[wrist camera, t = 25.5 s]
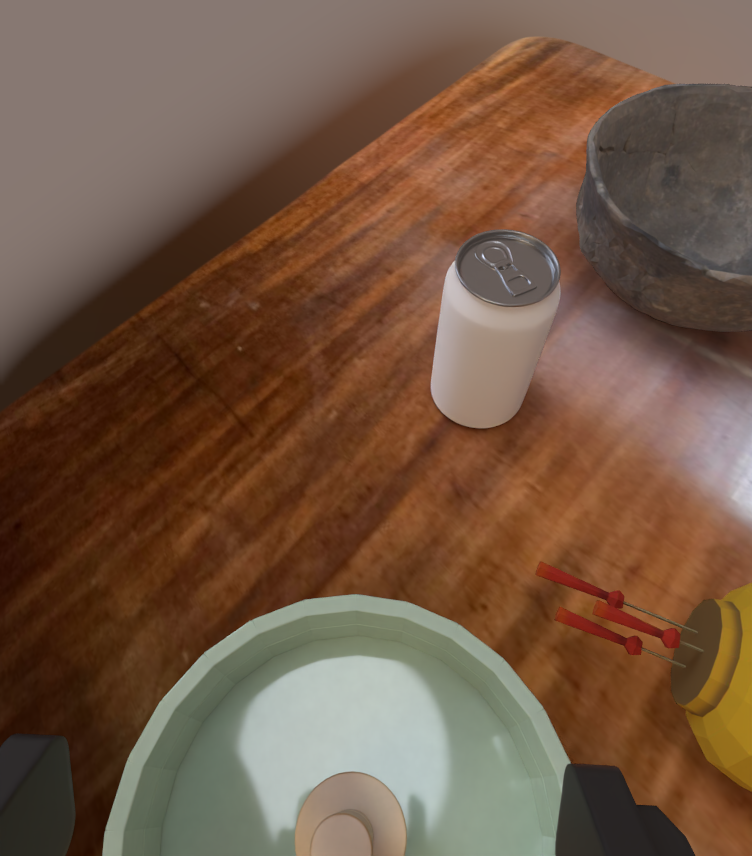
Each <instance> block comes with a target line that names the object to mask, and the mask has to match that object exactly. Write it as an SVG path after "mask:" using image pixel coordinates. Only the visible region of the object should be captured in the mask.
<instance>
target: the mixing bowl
mask: <svg viewBox="0 0 752 856" xmlns="http://www.w3.org/2000/svg"><path fill="white" fill-rule="evenodd" d="M127 760H128V761H127V762H126V765H125V769H124V772H123V775H122V778H121V781H120V784H119V788H118V791H117V794H116V797H115V800H114V804H113V807H112V810H111V813H110V816H109V820H108V823H107V826H106V831H105V833H104V844H103V855H102V856H296V852H295V828H296V823H297V819H298V815H299V813H300V810H301V808H302V806H303V804H304V802H305V800H306V798H307V797H308V795H309V794H310V793H311V792H312V790H313V789H314V788H315V787H316V786H317V785H318V784H320V783H321V782H322V781H324V780H325V779H327V778H329V777H331V776H333V775H335V774H338V773H343V772H352V771H353V772H361V773H365V774H368V775H371V776H373V777H375V778H377V779H378V780H380V781H381V782H382V783H384V784H385V785H386V786H387V787H388V788H389V789H390V790H391V791H392V793H393V794H394V795H395V797H396V799H397V800H398V802H399V804H400V806H401V809H402V811H403V814H404V818H405V822H406V829H407V846H406V852H405V856H555V841H556V832H557V825H558V817H559V809H560V801H561V794H562V786H563V778H564V772H565V768H566V766H567V764H571V762H570V760H569V758H568V756H567V754H566V752H565V750H564V748H563V746H562V744H561V742H560V740H559V738H558V735H557V733H556V731H555V729H554V727H553V725H552V723H551V721H550V719H549V717H548V715H547V713H546V711H545V710H544V708H543V706H542V705H541V704H540V702H539V701H538V700H537V699H536V697H535V696H534V695H533V694H532V692H531V691H530V690H529V689H528V687H527V686H526V685H525V684H524V682H523V681H522V680H521V679H520V677H519V676H518V675H517V674H516V673H515V671H514V670H513V669H512V668H511V666H510V665H509V664H508V663H507V661H504V658H502V657H501V656H500V655H499V654H497V653H496V652H495V651H493V650H492V649H491V648H490V647H488V646H487V645H486V644H484V643H483V642H482V641H480V640H479V639H478V638H477V637H475V636H474V635H473V634H471V633H470V632H469V631H468V630H466V629H465V628H464V627H462V626H461V625H459V624H458V623H456V622H453V621H451V620H449V619H446V618H444V617H442V616H440V615H437V614H435V613H433V612H430V611H428V610H426V609H423V608H421V607H419V606H416V605H414V604H412V603H408V602H405V601H398V600H392V599H385V598H379V597H372V596H365V595H359V594H357V595H356V594H352V595H343V596H334V597H325V598H316V599H307V600H303V601H300V602H297V603H294V604H292V605H289V606H287V607H284V608H281V609H279V610H276V611H274V612H271V613H268V614H266V615H263V616H260V617H258V618H255V619H253V620H252V621H249V622H248V623H246V624H245V625H243V626H242V627H241V628H239V629H238V630H236V631H235V632H233V633H232V634H230V635H229V636H228V637H226V638H225V639H223V640H222V641H220V642H219V643H218V644H216V645H215V646H213V647H212V648H210V649H209V650H207V651H206V652H205V653H204V654H203V655H201V657H200V658H199V659H198V660H197V661H196V662H195V663H194V664H193V665H192V667H191V668H190V669H189V670H188V671H187V672H186V673H185V674H184V675H183V677H182V678H181V679H180V680H179V681H178V682H177V683H176V684H175V685H174V687H173V688H172V689H171V690H170V691H169V692H168V693H167V694H166V695H165V697H164V698H163V699H162V701H160V703H159V704H158V706H157V708H156V710H155V711H154V713H153V715H152V717H151V718H150V720H149V722H148V724H147V725H146V727H145V729H144V731H143V733H142V734H141V736H140V738H139V740H138V741H137V743H136V745H135V747H134V748H133V750H132V752H131V754H130V755H129V757H128V759H127Z"/></svg>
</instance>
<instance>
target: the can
mask: <svg viewBox="0 0 752 856" xmlns="http://www.w3.org/2000/svg"><path fill="white" fill-rule="evenodd" d="M559 279H560V265H559V261H558V259H557V257H556V255H555V254H554V252H553V251H552V250H551V249H550V248H549V247H548V246H547V245H546V244H545V243H543V242H542V241H540V240H539V239H537V238H535V237H533V236H531V235H529V234H526V233H523V232H519V231H514V230H491V231H486V232H483V233H480V234H477V235H475V236H473V237H471V238H470V239H468V240H467V241H466V242H465V243H464V244H463V245H462V246H461V247H460V249H459V251H458V253H457V255H456V259H455V261H454V262H453V263H452V265H451V266H450V268H449V270H448V272H447V275H446V278H445V283H444V289H443V295H442V302H441V309H440V316H439V324H438V331H437V339H436V346H435V354H434V361H433V369H432V378H431V393H432V397H433V400H434V402H435V404H436V405H437V407H438V408H439V410H440V411H441V412H442V413H443V414H444V415H445V416H447V417H448V418H449V419H451V420H452V421H454V422H456V423H458V424H461V425H464V426H467V427H472V428H490V427H495V426H498V425H501V424H503V423H505V422H507V421H508V420H510V419H511V418H512V417H513V416H514V415H515V414H516V413H517V412H518V410H519V409H520V407H521V405H522V402H523V400H524V397H525V395H526V392H527V390H528V387H529V384H530V382H531V379H532V377H533V374H534V371H535V368H536V366H537V363H538V360H539V358H540V355H541V352H542V350H543V347H544V344H545V342H546V339H547V336H548V333H549V331H550V328H551V325H552V322H553V320H554V317H555V314H556V311H557V308H558V305H559V301H560V294H561V291H560V284H559Z"/></svg>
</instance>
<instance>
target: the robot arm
mask: <svg viewBox="0 0 752 856" xmlns="http://www.w3.org/2000/svg"><path fill="white" fill-rule="evenodd" d="M74 824H75V804H74V795H73V785H72V775H71V765H70V756H69V747H68V742H67V740H66V738H65V737H63V736H55V735H36V734H14V735H12V736H10V737H9V738H8V739H7V740H6V741H5V742H4V743H3V744H2V746H1V747H0V856H65V855H66V853H67V850H68V848H69V845H70V842H71V838H72V834H73V830H74ZM555 856H695V854H694V852H693V850H692V848H691V846H690V844H689V842H688V840H687V838H686V837H685V835H684V834H683V833H682V832H681V831H680V830H679V829H678V828H677V827H676V826H675V825H674V824H673V823H672V822H671V821H670V820H669V819H668V818H667V817H666V815H665V814H664V813H663V812H662V811H661V810H660V809H659V808H658V807H657V806H649V805H636V803H635V801H634V799H633V797H632V794H631V792H630V790H629V788H628V786H627V783H626V781H625V779H624V777H623V775H622V773H621V771H620V770H619V768H618V767H616V766H608V765H589V764H567V766H566V768H565V772H564V778H563V786H562V794H561V801H560V809H559V817H558V825H557V832H556V841H555Z"/></svg>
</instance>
